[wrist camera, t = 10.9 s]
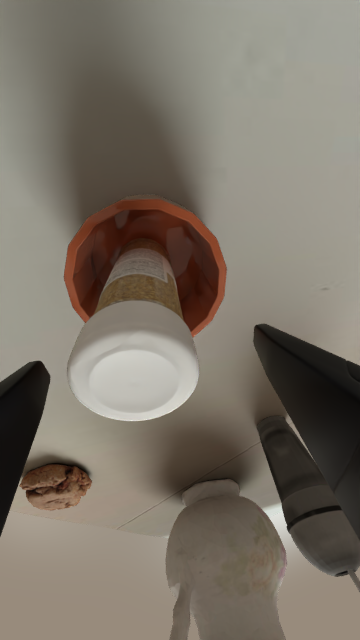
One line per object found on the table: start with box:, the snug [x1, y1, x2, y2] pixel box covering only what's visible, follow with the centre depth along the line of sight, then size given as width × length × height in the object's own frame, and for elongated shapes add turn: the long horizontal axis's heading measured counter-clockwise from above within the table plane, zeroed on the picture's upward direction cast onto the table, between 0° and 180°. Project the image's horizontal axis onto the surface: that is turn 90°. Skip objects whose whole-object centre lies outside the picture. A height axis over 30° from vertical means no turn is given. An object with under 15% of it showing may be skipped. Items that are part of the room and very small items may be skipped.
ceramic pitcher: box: [166, 479, 287, 640], centre depth 34 cm, size 22×20×25 cm
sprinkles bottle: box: [67, 238, 199, 421], centre depth 13 cm, size 5×5×13 cm
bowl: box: [64, 194, 227, 338], centre depth 17 cm, size 10×10×6 cm
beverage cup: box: [257, 416, 360, 592], centre depth 26 cm, size 7×7×20 cm
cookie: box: [20, 464, 92, 510], centre depth 34 cm, size 10×11×3 cm
